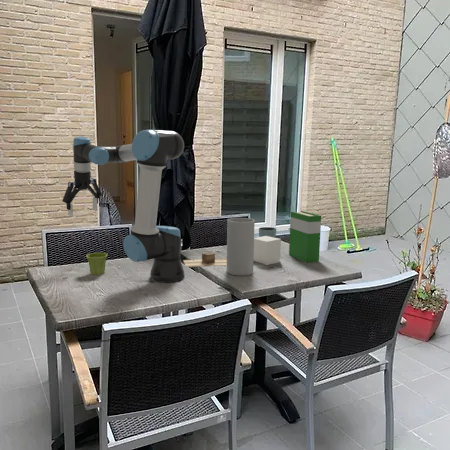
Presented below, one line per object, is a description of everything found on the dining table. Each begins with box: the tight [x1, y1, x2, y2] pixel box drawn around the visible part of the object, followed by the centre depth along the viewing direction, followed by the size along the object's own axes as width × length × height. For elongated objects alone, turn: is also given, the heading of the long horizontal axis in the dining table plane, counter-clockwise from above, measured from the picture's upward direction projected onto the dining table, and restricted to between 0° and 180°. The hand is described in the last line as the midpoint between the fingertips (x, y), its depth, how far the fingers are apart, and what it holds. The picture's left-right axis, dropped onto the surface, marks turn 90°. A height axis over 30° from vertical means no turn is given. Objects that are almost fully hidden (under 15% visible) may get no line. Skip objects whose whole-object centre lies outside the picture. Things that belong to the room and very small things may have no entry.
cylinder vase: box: [226, 217, 256, 277], centre depth 210 cm, size 12×12×25 cm
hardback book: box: [288, 210, 322, 263], centre depth 240 cm, size 18×7×24 cm, turn 23°
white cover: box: [253, 236, 282, 266], centre depth 232 cm, size 10×10×12 cm
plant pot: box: [85, 252, 108, 276], centre depth 206 cm, size 9×9×9 cm
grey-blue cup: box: [258, 226, 277, 238], centre depth 261 cm, size 10×10×12 cm
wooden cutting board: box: [182, 258, 227, 268], centre depth 227 cm, size 13×24×1 cm, turn 101°
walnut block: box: [201, 251, 216, 264], centre depth 227 cm, size 5×5×5 cm
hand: (83, 213), depth 219 cm, fingers open, 13 cm apart
